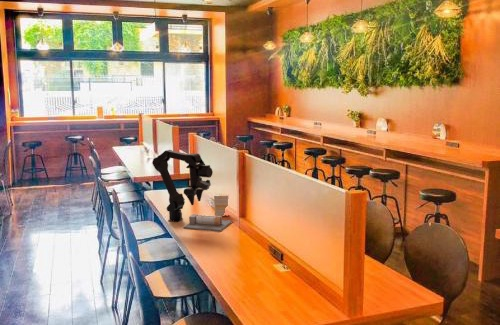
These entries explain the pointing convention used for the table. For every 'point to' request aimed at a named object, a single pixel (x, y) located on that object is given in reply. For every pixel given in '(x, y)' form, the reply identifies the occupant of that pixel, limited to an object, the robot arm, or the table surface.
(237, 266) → the table surface
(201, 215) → the tong leg
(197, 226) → the tong mat
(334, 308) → the table surface
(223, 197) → the supplement box
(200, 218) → the tong leg
